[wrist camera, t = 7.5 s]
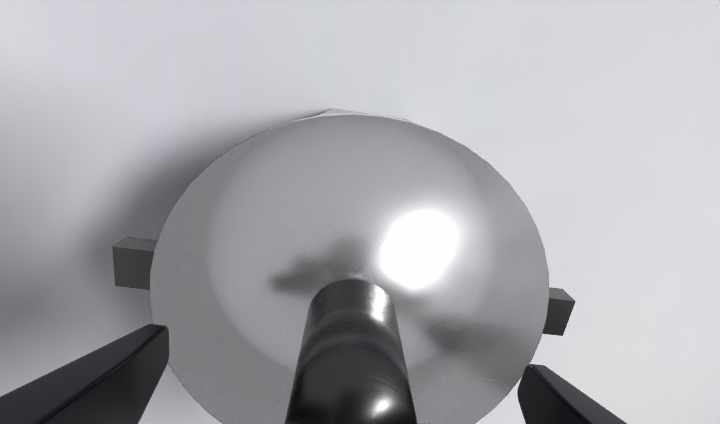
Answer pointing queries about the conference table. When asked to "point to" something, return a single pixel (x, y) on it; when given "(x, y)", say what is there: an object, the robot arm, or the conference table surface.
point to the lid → (350, 278)
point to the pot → (138, 253)
